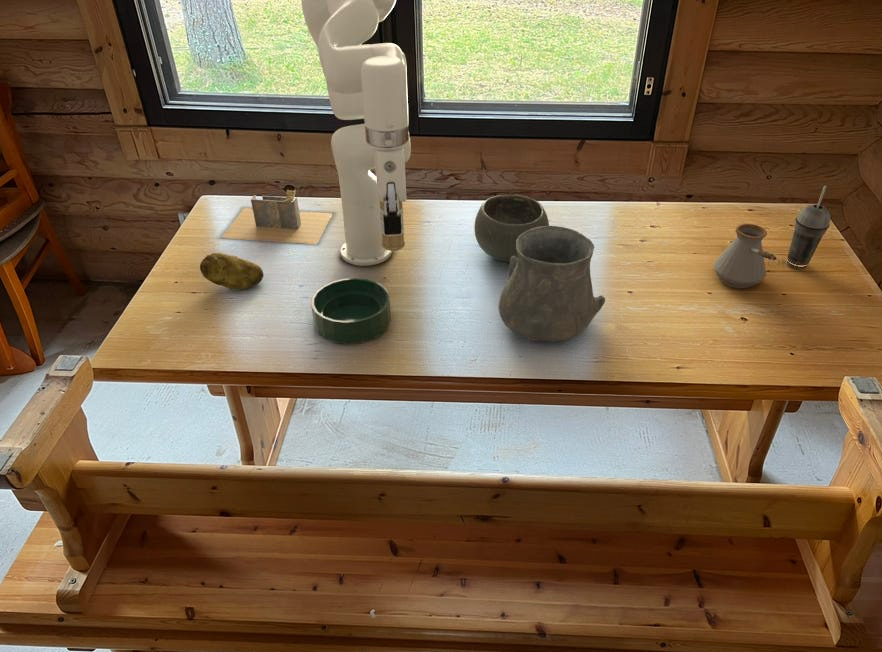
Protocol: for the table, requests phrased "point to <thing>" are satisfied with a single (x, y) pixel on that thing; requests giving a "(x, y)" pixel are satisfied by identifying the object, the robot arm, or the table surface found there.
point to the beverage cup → (808, 233)
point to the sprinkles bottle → (394, 240)
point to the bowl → (506, 223)
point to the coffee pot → (744, 258)
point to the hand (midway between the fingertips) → (392, 226)
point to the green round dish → (351, 310)
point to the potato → (230, 271)
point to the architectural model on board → (278, 221)
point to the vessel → (550, 285)
